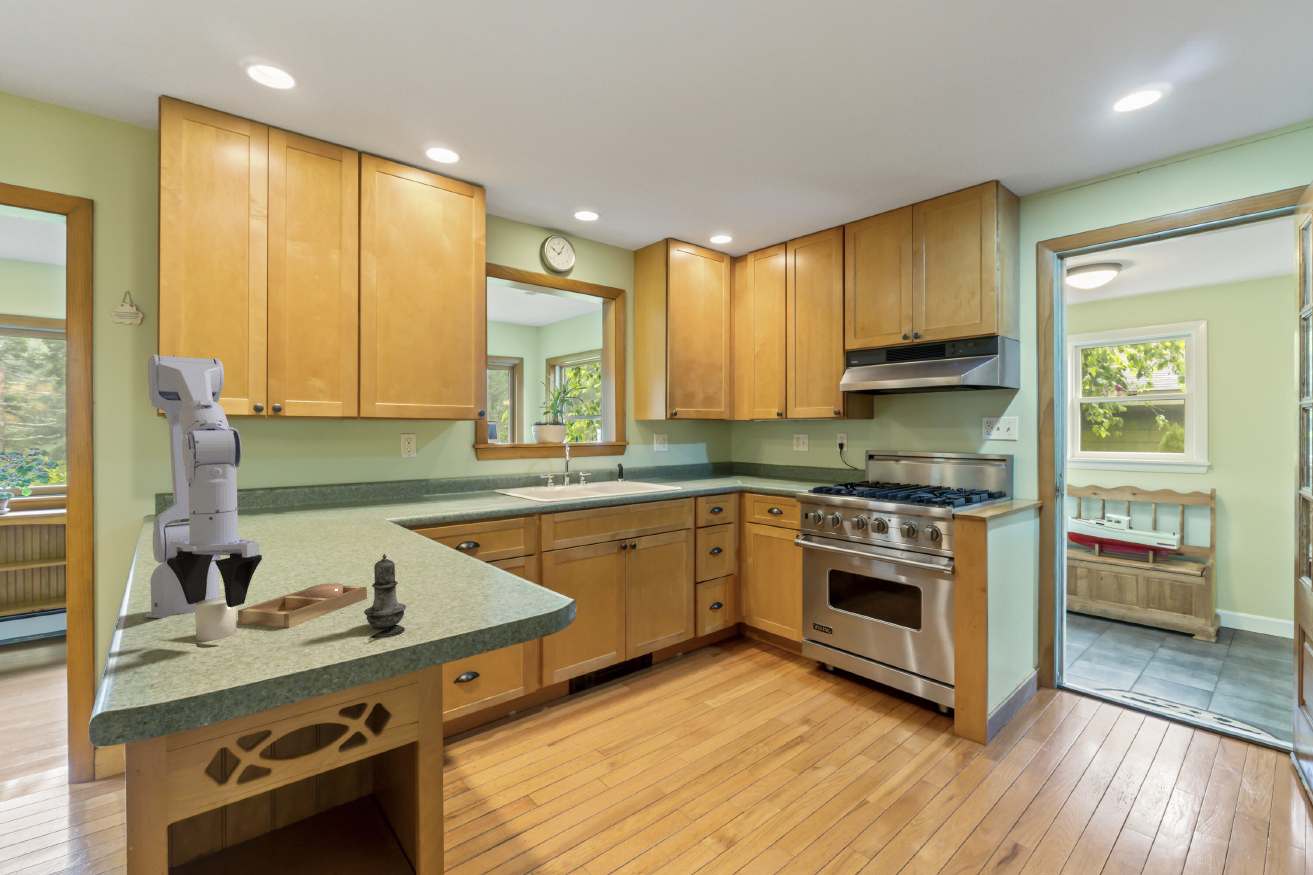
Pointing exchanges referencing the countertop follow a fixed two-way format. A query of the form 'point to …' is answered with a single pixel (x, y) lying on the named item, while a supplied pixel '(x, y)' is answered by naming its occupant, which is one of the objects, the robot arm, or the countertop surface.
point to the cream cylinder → (214, 620)
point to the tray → (298, 608)
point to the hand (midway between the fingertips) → (216, 603)
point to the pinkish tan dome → (325, 590)
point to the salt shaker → (385, 601)
